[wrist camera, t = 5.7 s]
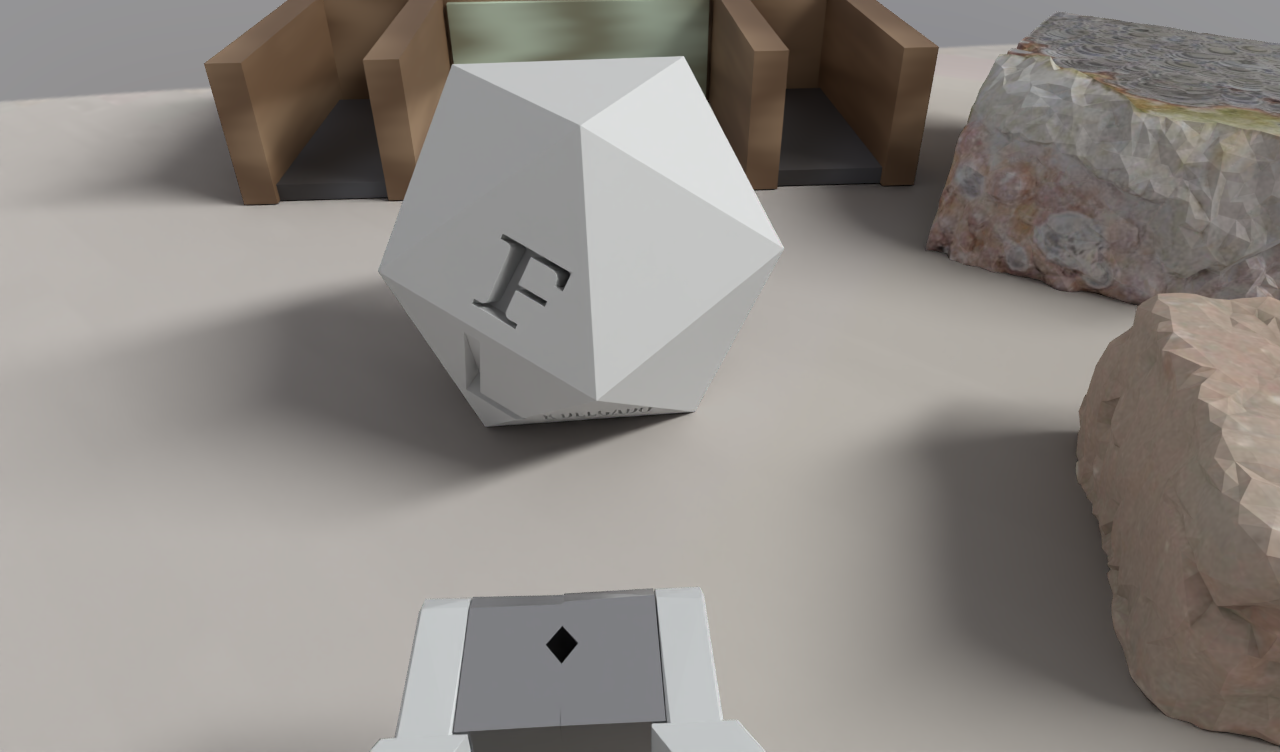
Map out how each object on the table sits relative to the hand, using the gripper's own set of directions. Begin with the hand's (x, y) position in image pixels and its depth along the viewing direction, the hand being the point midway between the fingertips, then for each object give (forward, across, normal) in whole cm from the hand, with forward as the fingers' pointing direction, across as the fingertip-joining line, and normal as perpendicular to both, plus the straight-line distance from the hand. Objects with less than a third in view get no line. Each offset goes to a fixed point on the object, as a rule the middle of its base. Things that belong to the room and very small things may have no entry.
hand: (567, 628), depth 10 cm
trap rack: (+30, 0, +5) cm, 30 cm away
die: (+12, 0, +5) cm, 13 cm away
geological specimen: (+21, -20, +5) cm, 29 cm away
